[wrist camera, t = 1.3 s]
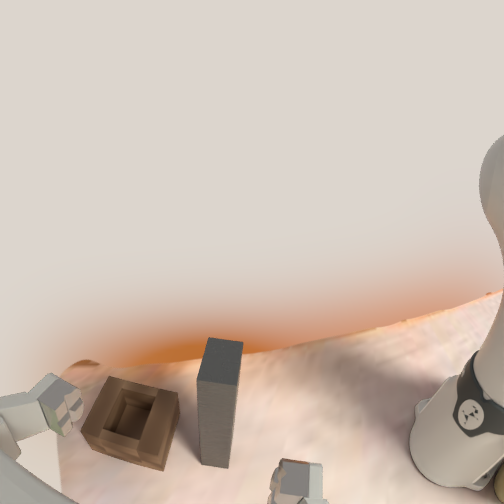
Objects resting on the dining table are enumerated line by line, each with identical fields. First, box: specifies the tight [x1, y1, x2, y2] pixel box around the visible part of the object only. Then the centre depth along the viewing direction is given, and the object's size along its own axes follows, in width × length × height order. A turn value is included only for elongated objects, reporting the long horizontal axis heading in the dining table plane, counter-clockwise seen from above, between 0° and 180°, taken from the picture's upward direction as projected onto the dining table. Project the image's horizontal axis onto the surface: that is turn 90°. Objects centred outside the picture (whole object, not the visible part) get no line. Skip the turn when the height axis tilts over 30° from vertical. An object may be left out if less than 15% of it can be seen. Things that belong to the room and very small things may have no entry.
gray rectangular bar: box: [197, 337, 243, 469], centre depth 26 cm, size 3×5×16 cm, turn 176°
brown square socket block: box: [81, 376, 180, 471], centre depth 29 cm, size 9×9×4 cm
